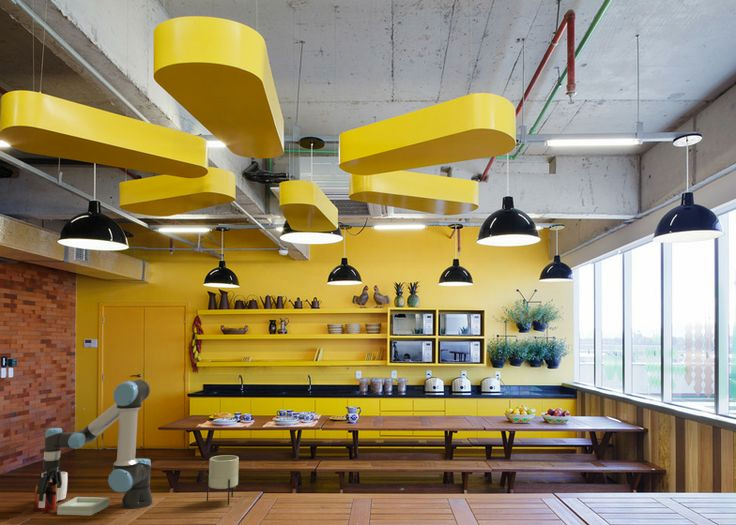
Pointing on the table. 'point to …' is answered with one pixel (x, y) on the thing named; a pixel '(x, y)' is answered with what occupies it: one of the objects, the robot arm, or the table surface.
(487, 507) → the table surface
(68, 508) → the tray
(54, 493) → the mug
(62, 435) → the robot arm
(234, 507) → the table surface
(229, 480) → the planter
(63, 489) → the cup
